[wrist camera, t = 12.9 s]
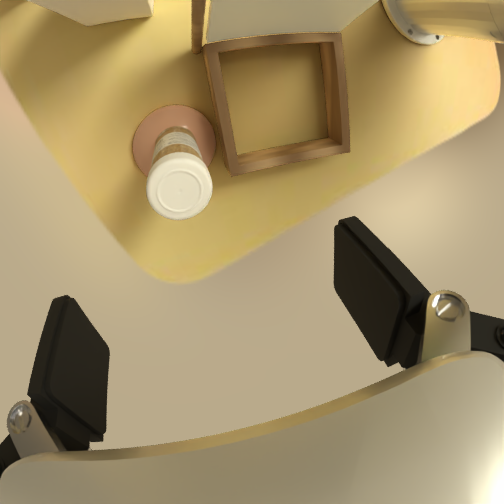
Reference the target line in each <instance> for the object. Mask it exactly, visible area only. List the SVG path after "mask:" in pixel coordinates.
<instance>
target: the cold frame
mask: <svg viewBox="0 0 504 504" xmlns="http://www.w3.org/2000/svg"><path fill="white" fill-rule="evenodd" d="M205 3H206V0H192V52H193V53H194V54H199V53H200V52H201V50H202V51H203V56H204V61H205V66H206V72H207V77H208V82H209V87H210V92H211V97H212V102H213V107H214V112H215V117H216V122H217V127H218V132H219V137H220V142H221V147H222V152H223V157H224V161H225V166H226V168H227V170H228V172H229V174H230V175H231V177H232V176H236V175H240V174H244V173H248V172H253V171H257V170H261V169H266V168H270V167H275V166H280V165H284V164H289V163H294V162H299V161H304V160H309V159H314V158H320V157H325V156H330V155H336V154H342V153H348V152H350V130H349V111H348V96H347V84H346V73H345V63H344V54H343V45H342V37H341V33H296V34H279V35H267V36H257V37H248V38H240V39H233V40H227V41H221V42H215V43H209V44H205V45H204V46H203V47H202V37H203V25H204V14H205ZM302 43H319V47H320V54H321V62H322V71H323V80H324V89H325V99H326V111H327V123H328V137H329V138H324V139H317V140H311V141H306V142H300V143H294V144H289V145H284V146H278V147H273V148H268V149H264V150H259V151H254V152H250V153H245V154H241V155H237V153H236V147H235V142H234V136H233V131H232V126H231V120H230V115H229V109H228V104H227V99H226V93H225V88H224V83H223V77H222V72H221V67H220V61H219V56H218V53H221V52H227V51H233V50H240V49H247V48H255V47H264V46H274V45H286V44H302Z"/></svg>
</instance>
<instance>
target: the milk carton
mask: <svg viewBox="0 0 504 504" xmlns="http://www.w3.org/2000/svg"><path fill="white" fill-rule="evenodd" d="M27 1H30V2H32V3H35V4H37V5H40V6H42V7H45V8H47V9H50V10H52V11H54V12H57V13H59V14H61V15H63V16H66V17H68V18H70V19H72V20H74V21H77V22H79V23H81V24H83V25H85V26H92V25H97V24H103V23H108V22H114V21H120V20H127V19H134V18H142V17H150V16H153V6H154V0H27Z"/></svg>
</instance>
